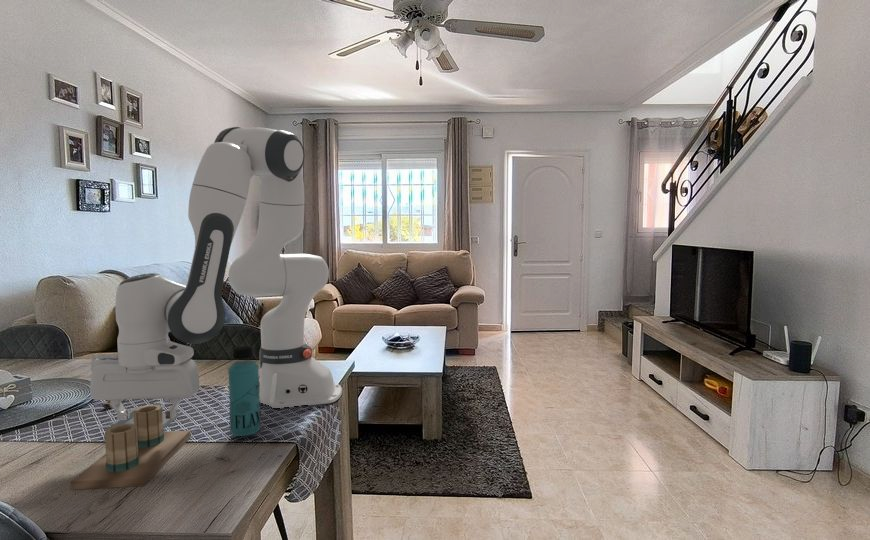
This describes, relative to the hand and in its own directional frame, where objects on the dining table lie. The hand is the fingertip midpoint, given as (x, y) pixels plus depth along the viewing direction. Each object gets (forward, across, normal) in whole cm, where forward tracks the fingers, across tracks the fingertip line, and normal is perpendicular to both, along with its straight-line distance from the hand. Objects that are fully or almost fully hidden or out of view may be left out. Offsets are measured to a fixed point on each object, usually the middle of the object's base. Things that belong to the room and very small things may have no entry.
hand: (147, 418), depth 98 cm
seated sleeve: (+5, +1, -11) cm, 12 cm away
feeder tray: (+6, -7, +12) cm, 15 cm away
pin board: (+6, +1, -6) cm, 8 cm away
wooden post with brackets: (+7, -22, +27) cm, 36 cm away
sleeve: (+5, 0, -1) cm, 5 cm away
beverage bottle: (+6, +18, +4) cm, 20 cm away
